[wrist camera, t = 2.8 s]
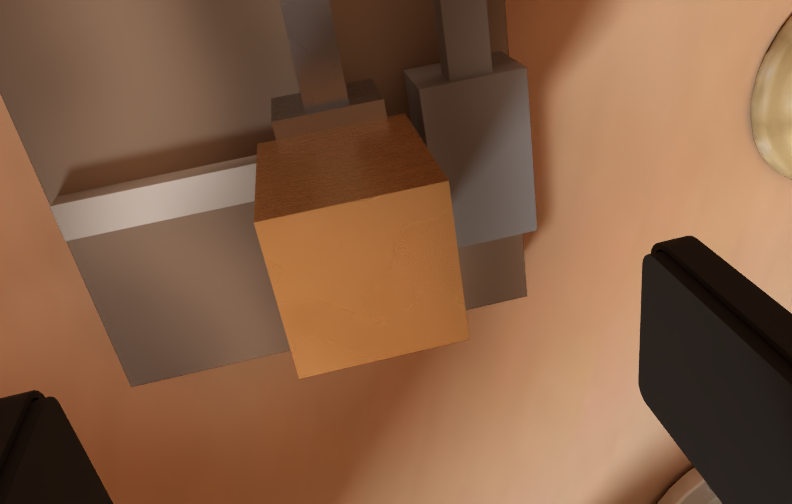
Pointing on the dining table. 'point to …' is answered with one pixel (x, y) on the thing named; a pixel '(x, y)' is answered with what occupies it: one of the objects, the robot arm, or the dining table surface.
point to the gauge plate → (244, 151)
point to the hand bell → (775, 104)
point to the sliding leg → (352, 216)
